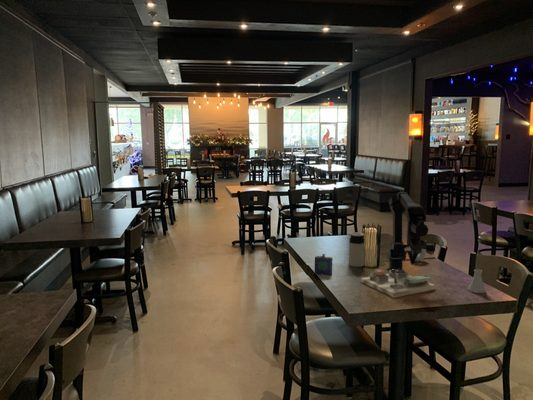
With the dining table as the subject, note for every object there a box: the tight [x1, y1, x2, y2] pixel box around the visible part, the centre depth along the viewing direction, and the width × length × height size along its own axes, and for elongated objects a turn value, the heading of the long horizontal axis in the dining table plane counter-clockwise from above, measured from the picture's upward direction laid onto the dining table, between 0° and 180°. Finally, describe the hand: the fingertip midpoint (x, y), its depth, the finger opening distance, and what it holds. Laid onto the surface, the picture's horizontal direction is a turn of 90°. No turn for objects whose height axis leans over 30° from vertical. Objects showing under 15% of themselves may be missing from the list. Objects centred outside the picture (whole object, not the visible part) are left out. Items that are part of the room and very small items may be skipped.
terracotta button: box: [374, 268, 385, 277], centre depth 203 cm, size 4×4×2 cm
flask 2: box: [467, 269, 487, 294], centre depth 193 cm, size 7×7×10 cm
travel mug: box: [348, 231, 365, 268], centre depth 233 cm, size 8×8×18 cm
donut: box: [412, 249, 427, 262], centre depth 241 cm, size 10×4×10 cm, turn 110°
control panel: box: [360, 270, 436, 299], centre depth 201 cm, size 23×25×5 cm
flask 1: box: [314, 253, 333, 276], centre depth 218 cm, size 9×3×11 cm, turn 78°
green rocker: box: [401, 275, 432, 283], centre depth 198 cm, size 8×11×1 cm
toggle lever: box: [391, 269, 397, 284], centre depth 194 cm, size 2×2×7 cm
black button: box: [394, 269, 404, 273], centre depth 209 cm, size 4×4×2 cm
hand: (412, 264), depth 199 cm, fingers closed
